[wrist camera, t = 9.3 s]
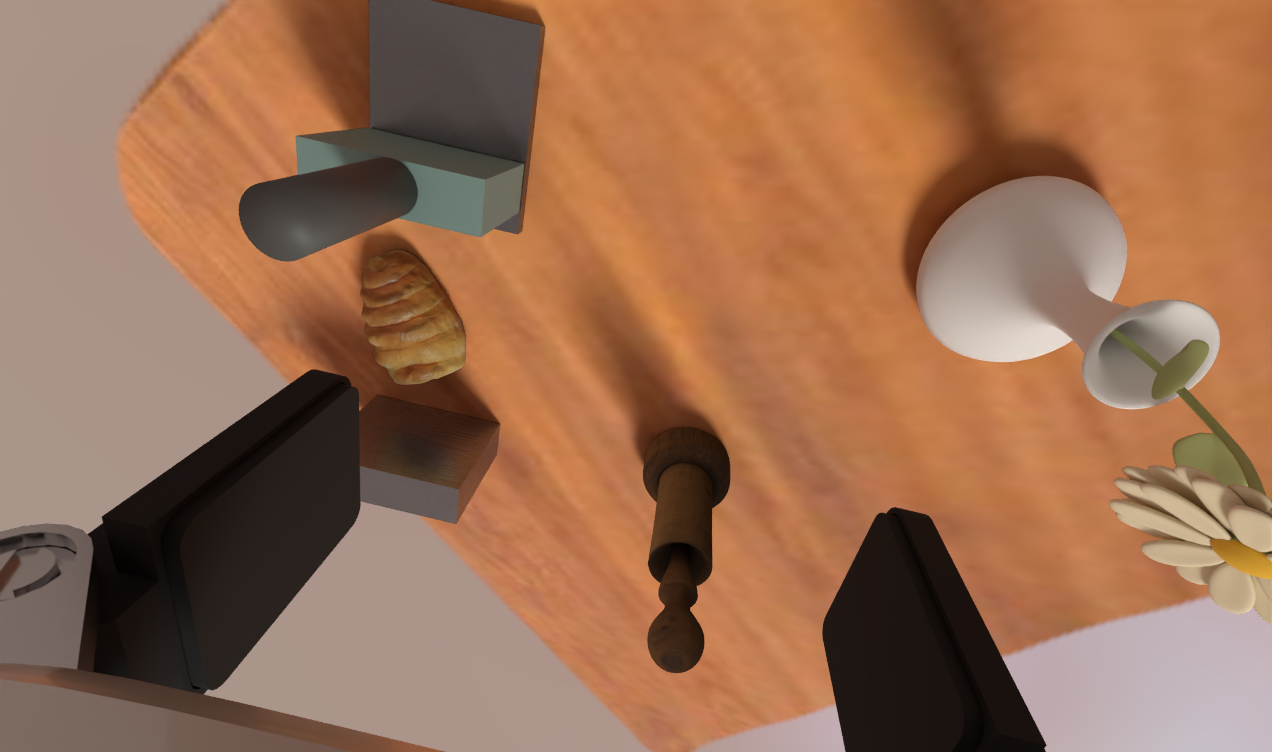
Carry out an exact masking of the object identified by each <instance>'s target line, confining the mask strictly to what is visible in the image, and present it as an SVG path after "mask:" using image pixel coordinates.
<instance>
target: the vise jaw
mask: <svg viewBox="0 0 1272 752" xmlns="http://www.w3.org/2000/svg"><path fill="white" fill-rule="evenodd" d="M296 151H297V168H298V175H295V176H291V177H286V178H281V179H277V180H272V181H267V182H263V183H258V184H255V185H253V186H251V187H249V188H248V189H247V190H246V191H245V192H244V194H243V195H242V197H241V200H240V204H239V217H240V222H241V225H242V227H243V230H244V232H245V234H246V235H247V237H248V238H249V240H250V241H251V242H252V243H253V245H254V246H255V247H256V248H258V249H259V250H260V251H261V252H263V253H264V254H265V255H267V256H269V257H271V258H273V259H276V260H280V261H295V260H298V259H301V258H303V257H305V256H308V255H310V254H313V253H315V252H317V251H320V250H322V249H325V248H327V247H329V246H332V245H334V244H337V243H339V242H341V241H344V240H346V239H349V238H351V237H353V236H356V235H358V234H361V233H363V232H365V231H368V230H370V229H373V228H375V227H377V226H380V225H382V224H384V223H387V222H389V221H392V220H394V219H396V218H400V219H404V220H408V221H413V222H417V223H421V224H425V225H430V226H434V227H438V228H443V229H447V230H451V231H455V232H460V233H464V234H468V235H473V236H477V237H482V236H484V235H485V234H487V233H488V232H490V231H491V230H493V229H494V228H496V227H497V226H499V225H500V224H502V223H503V222H505V221H507V220H508V219H510V218H511V217H513V216H514V215H516V214H517V213H519V207H520V198H521V189H522V180H523V171H524V164H523V163H518V162H514V161H510V160H505V159H501V158H497V157H492V156H488V155H484V154H479V153H475V152H471V151H466V150H462V149H458V148H453V147H449V146H445V145H440V144H436V143H432V142H427V141H423V140H419V139H414V138H410V137H406V136H401V135H397V134H393V133H388V132H384V131H380V130H375V129H371V128H359V129H350V130H342V131H333V132H325V133H316V134H308V135H299V136H296Z"/></svg>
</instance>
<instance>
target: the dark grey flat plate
mask: <svg viewBox="0 0 1272 752" xmlns="http://www.w3.org/2000/svg"><path fill="white" fill-rule="evenodd" d="M544 35H545V27H544V26H541V25H536V24H532V23H528V22H523V21H519V20H514V19H510V18H506V17H501V16H497V15H493V14H488V13H484V12H479V11H475V10H471V9H466V8H462V7H457V6H453V5H449V4H444V3H440V2H436V1H431V0H369V128H371V129H375V130H380V131H384V132H388V133H393V134H397V135H401V136H406V137H410V138H414V139H419V140H423V141H427V142H432V143H436V144H440V145H445V146H449V147H453V148H458V149H462V150H466V151H471V152H475V153H479V154H484V155H488V156H492V157H497V158H501V159H505V160H510V161H514V162H518V163H523V164H524V171H523V180H522V189H521V198H520V207H519V213H517V214H516V215H514V216H513V217H511V218H510V219H508V220H507V221H505V222H503V223H502V224H500V225H499V226H497V227H496V228H494V229H497V230H501V231H506V232H510V233H514V234H519V233H520V232H521V231H522V228H523V219H524V210H525V202H526V193H527V184H528V175H529V166H530V158H531V149H532V140H533V131H534V123H535V114H536V105H537V96H538V88H539V79H540V70H541V61H542V52H543V44H544Z"/></svg>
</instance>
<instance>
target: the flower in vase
mask: <svg viewBox="0 0 1272 752" xmlns="http://www.w3.org/2000/svg"><path fill="white" fill-rule="evenodd" d="M1126 259H1127V244H1126V238H1125V234H1124V230H1123V227H1122V225H1121V223H1120V220H1119V218H1118V216H1117V214H1116V213H1115V211H1114V210H1113V208H1112V207H1111V205H1110V204H1109V203H1108V202H1107V201H1106V200H1105V199H1104V198H1103V197H1102V196H1101V195H1100V194H1099V193H1097V192H1096V191H1095V190H1093V189H1092V188H1090V187H1088V186H1086V185H1084V184H1082V183H1080V182H1077V181H1074V180H1071V179H1068V178H1062V177H1056V176H1033V177H1024V178H1020V179H1015V180H1011V181H1008V182H1005V183H1002V184H999V185H996V186H994V187H992V188H990V189H988V190H986V191H983V192H982V193H980V194H978V195H977V196H975V197H973V198H972V199H970V200H969V201H967V202H966V203H965V204H963V205H962V206H961V207H960V208H958V209H957V210H956V211H955V212H954V213H953V214H952V215H951V216H950V217H949V218H948V219H947V220H946V221H945V222H944V223H943V224H942V226H941V227H940V228H939V229H938V230H937V232H936V233H935V235H934V236H933V238H932V239H931V241H930V243H929V244H928V246H927V248H926V250H925V252H924V255H923V257H922V260H921V263H920V266H919V270H918V275H917V282H916V297H917V304H918V308H919V312H920V314H921V317H922V320H923V322H924V323H925V325H926V327H927V328H928V330H929V331H930V332H931V334H932V335H933V336H934V337H935V338H936V339H937V340H938V341H939V342H940V343H942V344H943V345H944V346H946V347H947V348H949V349H950V350H952V351H954V352H956V353H958V354H961V355H963V356H966V357H970V358H973V359H979V360H985V361H992V362H1013V361H1020V360H1026V359H1031V358H1034V357H1038V356H1041V355H1044V354H1046V353H1049V352H1052V351H1054V350H1056V349H1058V348H1060V347H1062V346H1064V345H1066V344H1067V343H1069V342H1070V341H1072V340H1073V341H1074V342H1075V343H1076V344H1077V345H1078V346H1079V347H1080V348H1081V350H1082V351H1083V353H1084V357H1083V362H1082V375H1083V379H1084V382H1085V385H1086V387H1087V389H1088V390H1089V391H1090V393H1091V394H1092V395H1093V396H1094V397H1095V398H1096V399H1098V400H1099V401H1101V402H1103V403H1105V404H1107V405H1109V406H1113V407H1116V408H1122V409H1141V408H1148V407H1152V406H1157V405H1160V404H1163V403H1165V402H1168V401H1170V400H1172V399H1174V398H1176V397H1178V396H1180V397H1181V398H1182V399H1183V400H1184V401H1185V402H1186V403H1187V404H1188V405H1189V406H1190V408H1191V409H1192V410H1193V411H1194V412H1195V413H1196V414H1197V415H1198V416H1199V417H1200V418H1201V419H1202V420H1203V422H1204V423H1205V424H1206V425H1207V426H1208V427H1209V428H1210V429H1211V430H1212V432H1213V433H1212V434H1209V433H1196V434H1193V435H1190V436H1187V437H1184V438H1181V439H1179V440H1178V441H1176V442H1175V443H1174V445H1173V448H1172V450H1173V457H1174V461H1175V464H1176V466H1175V467H1174V469H1171V468H1167V467H1164V466H1159V465H1153V466H1149V467H1148V470H1145V469H1142V468H1138V467H1133V466H1126V467H1123V468H1122V470H1123V472H1124V474H1125V475H1126V476H1127V477H1129V478H1130V479H1127V478H1117V479H1114V483H1115V485H1116V486H1117V487H1118V489H1119V490H1120V492H1122V493H1123V494H1124V495H1126V496H1128V497H1129V498H1123V499H1121V500H1120V499H1113V500H1110V501H1109V505H1110V507H1111V508H1112V509H1113V510H1115V511H1116V515H1117V517H1118V518H1119V519H1120V520H1121V521H1122V522H1124V523H1126V524H1128V525H1130V526H1132V527H1134V528H1137V529H1140V530H1141V531H1143V532H1145V533H1147V534H1149V535H1152V536H1154V537H1157V538H1161V539H1164V540H1152V541H1148V542H1145V543H1143V544H1142V545H1141V550H1142V551H1143V553H1144V554H1146V555H1147V556H1148V557H1150V558H1151V559H1153V560H1155V561H1157V562H1160V563H1164V564H1169V565H1175V569H1176V571H1177V572H1178V573H1179V574H1180V575H1181V576H1182V577H1183V578H1185V579H1186V580H1188V581H1190V582H1193V583H1196V584H1208V592H1209V595H1210V597H1211V598H1212V600H1213V601H1214V602H1215V603H1216V604H1217V605H1219V606H1220V607H1222V608H1223V609H1225V610H1227V611H1229V612H1232V613H1235V614H1243V613H1246V612H1248V611H1249V610H1250V609H1251V608H1254V609H1255V610H1256V611H1257V613H1258V614H1259V615H1260V616H1261V617H1262V618H1263V619H1264V620H1265V621H1266V622H1268V623H1269V624H1271V625H1272V501H1271V500H1270V499H1269V498H1268V497H1267V496H1266V494H1265V491H1264V488H1263V485H1262V483H1261V481H1260V478H1259V476H1258V474H1257V472H1256V470H1255V468H1254V466H1253V464H1252V463H1251V461H1250V459H1249V458H1248V457H1247V455H1246V454H1245V452H1244V451H1243V450H1242V449H1241V448H1240V446H1239V445H1238V444H1237V443H1236V442H1235V441H1234V440H1233V439H1232V437H1231V436H1230V435H1229V434H1228V433H1227V432H1226V431H1225V430H1224V429H1223V428H1222V426H1221V425H1220V424H1219V423H1218V422H1217V421H1216V420H1215V419H1214V418H1213V417H1212V416H1211V414H1210V413H1209V412H1208V411H1207V410H1206V409H1205V408H1204V407H1203V406H1202V405H1201V404H1200V403H1199V402H1198V400H1197V399H1196V398H1195V397H1194V396H1193V395H1192V394H1191V393H1190V392H1189V391H1188V390H1189V389H1191V388H1192V387H1193V386H1194V385H1195V384H1197V383H1198V382H1199V381H1200V380H1201V379H1202V378H1203V377H1204V375H1205V374H1206V373H1207V372H1208V370H1209V369H1210V367H1211V366H1212V364H1213V362H1214V360H1215V358H1216V356H1217V353H1218V350H1219V345H1220V333H1219V328H1218V326H1217V323H1216V321H1215V320H1214V318H1213V317H1212V315H1211V314H1210V313H1209V312H1208V311H1206V310H1205V309H1203V308H1202V307H1200V306H1198V305H1196V304H1194V303H1191V302H1187V301H1182V300H1157V301H1151V302H1147V303H1143V304H1140V305H1137V306H1134V307H1128V306H1123V305H1120V304H1117V303H1114V302H1111V301H1112V300H1113V298H1114V296H1115V294H1116V292H1117V291H1118V289H1119V286H1120V284H1121V281H1122V278H1123V275H1124V271H1125V267H1126ZM1247 484H1248V487H1246V486H1247Z"/></svg>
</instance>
